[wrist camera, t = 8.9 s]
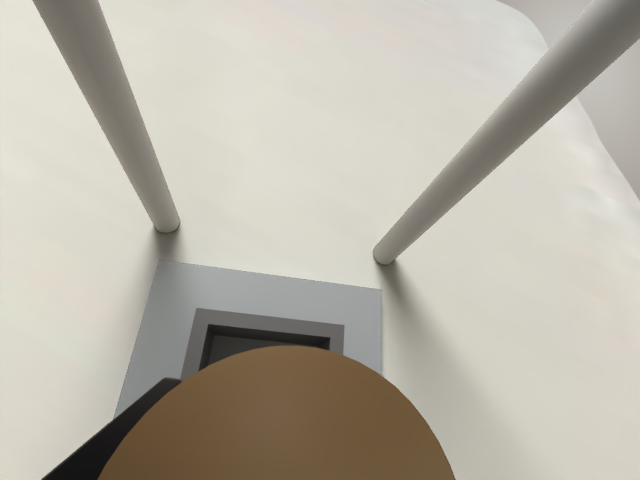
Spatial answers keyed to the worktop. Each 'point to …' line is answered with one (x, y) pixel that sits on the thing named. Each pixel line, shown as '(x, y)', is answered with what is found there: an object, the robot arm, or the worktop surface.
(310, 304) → the awning socket
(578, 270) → the worktop surface
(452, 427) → the worktop surface
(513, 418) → the worktop surface
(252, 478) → the tan domed cylinder
